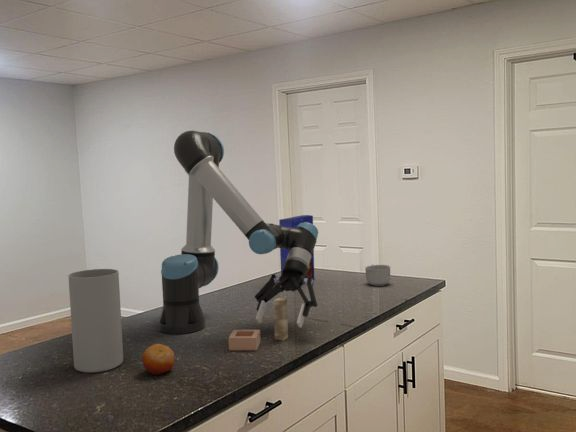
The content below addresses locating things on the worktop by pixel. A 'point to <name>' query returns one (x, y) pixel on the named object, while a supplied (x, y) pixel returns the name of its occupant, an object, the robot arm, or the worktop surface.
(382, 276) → the teacup
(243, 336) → the orange-brown square frame
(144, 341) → the worktop surface
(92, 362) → the cylinder vase
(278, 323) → the beige tall square post
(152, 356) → the fruit
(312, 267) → the cereal box
